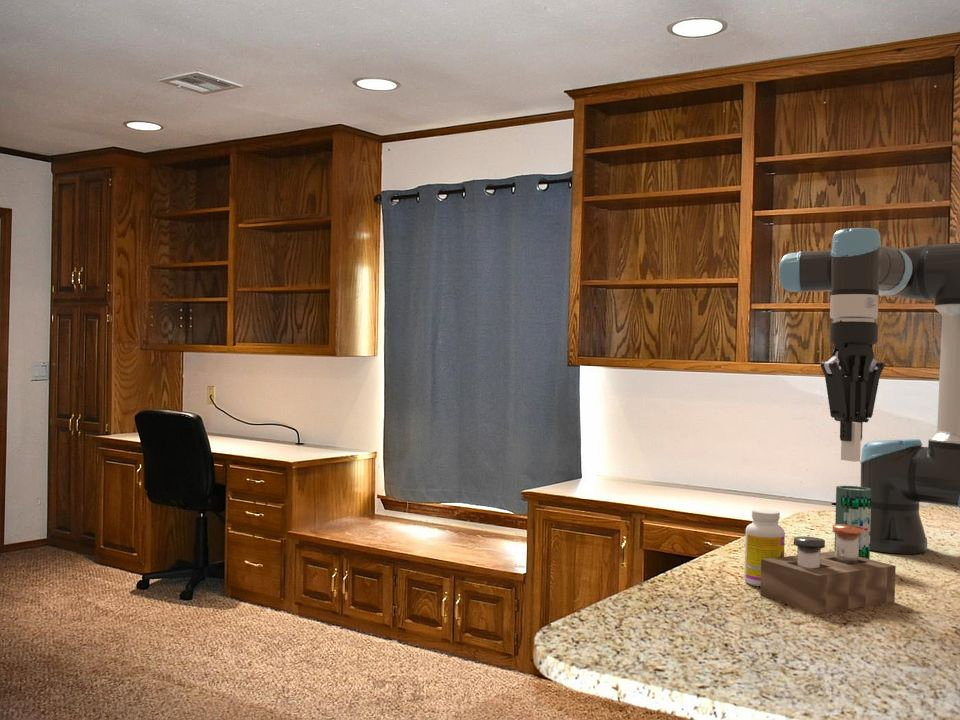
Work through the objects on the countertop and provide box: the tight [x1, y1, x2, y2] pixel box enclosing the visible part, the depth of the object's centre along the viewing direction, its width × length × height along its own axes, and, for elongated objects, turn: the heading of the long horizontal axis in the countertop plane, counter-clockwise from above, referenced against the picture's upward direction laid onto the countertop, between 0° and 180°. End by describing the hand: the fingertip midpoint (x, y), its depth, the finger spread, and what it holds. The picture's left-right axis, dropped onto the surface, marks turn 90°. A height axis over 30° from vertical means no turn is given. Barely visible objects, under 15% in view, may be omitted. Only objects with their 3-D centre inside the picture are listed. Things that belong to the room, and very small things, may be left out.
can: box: [834, 485, 871, 560], centre depth 176 cm, size 6×6×15 cm
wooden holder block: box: [759, 550, 897, 615], centre depth 150 cm, size 18×12×6 cm, turn 118°
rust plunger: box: [831, 524, 863, 565], centre depth 153 cm, size 5×5×9 cm
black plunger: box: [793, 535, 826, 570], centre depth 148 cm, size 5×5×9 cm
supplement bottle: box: [743, 508, 786, 588], centre depth 159 cm, size 7×7×13 cm
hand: (850, 460), depth 153 cm, fingers closed
